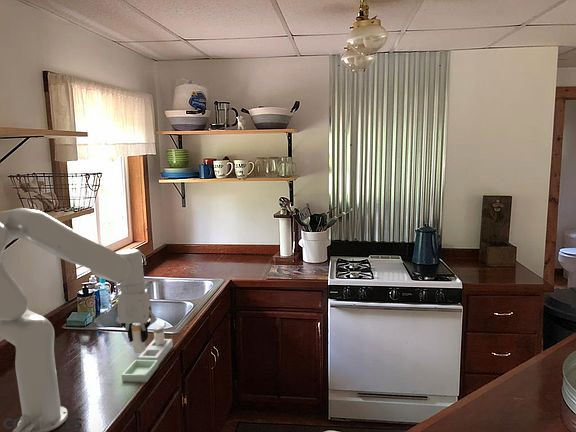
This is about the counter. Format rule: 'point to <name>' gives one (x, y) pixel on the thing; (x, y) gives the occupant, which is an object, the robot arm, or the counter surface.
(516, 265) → the counter surface
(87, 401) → the counter surface
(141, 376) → the tray
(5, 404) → the counter surface
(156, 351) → the holder block
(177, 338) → the counter surface
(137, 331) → the cylinder
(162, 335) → the cylinder
